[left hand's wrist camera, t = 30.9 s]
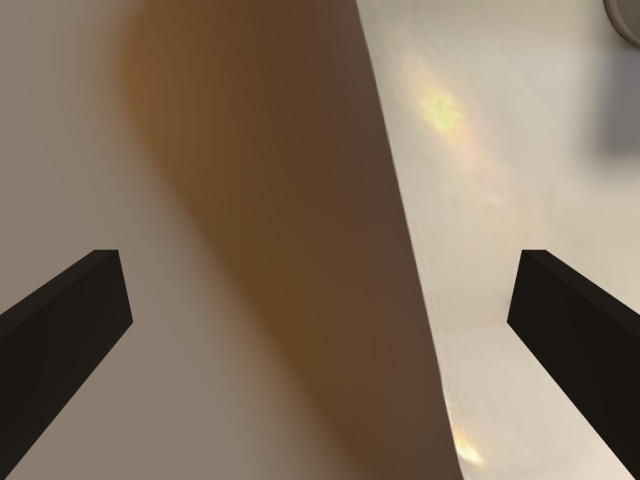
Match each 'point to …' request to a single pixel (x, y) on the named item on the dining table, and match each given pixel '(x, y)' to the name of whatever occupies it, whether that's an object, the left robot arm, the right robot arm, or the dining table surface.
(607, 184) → the dining table surface
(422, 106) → the dining table surface
